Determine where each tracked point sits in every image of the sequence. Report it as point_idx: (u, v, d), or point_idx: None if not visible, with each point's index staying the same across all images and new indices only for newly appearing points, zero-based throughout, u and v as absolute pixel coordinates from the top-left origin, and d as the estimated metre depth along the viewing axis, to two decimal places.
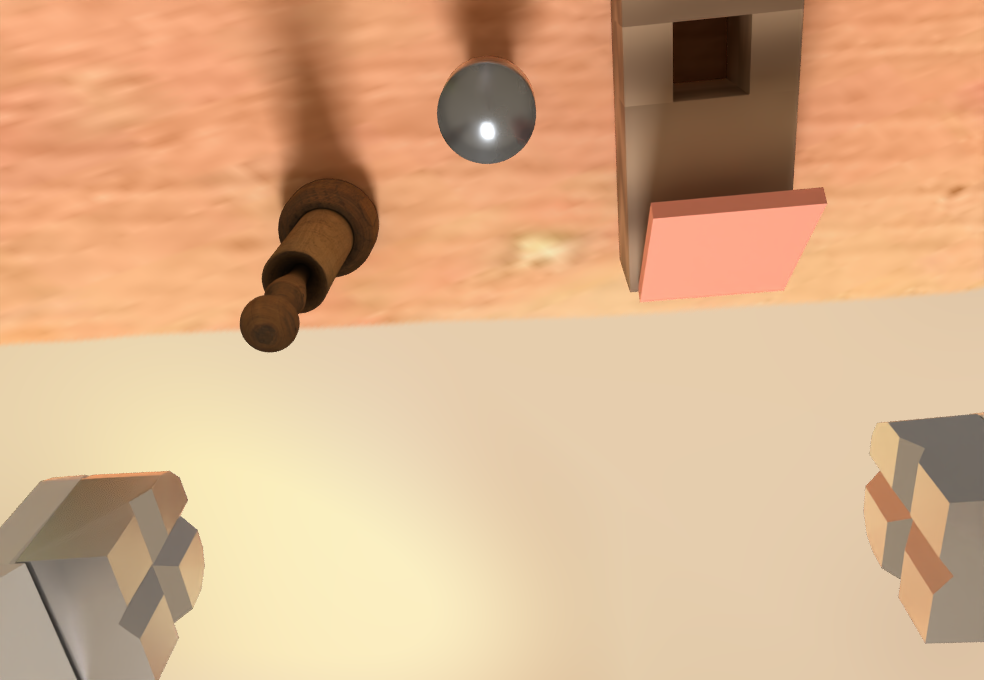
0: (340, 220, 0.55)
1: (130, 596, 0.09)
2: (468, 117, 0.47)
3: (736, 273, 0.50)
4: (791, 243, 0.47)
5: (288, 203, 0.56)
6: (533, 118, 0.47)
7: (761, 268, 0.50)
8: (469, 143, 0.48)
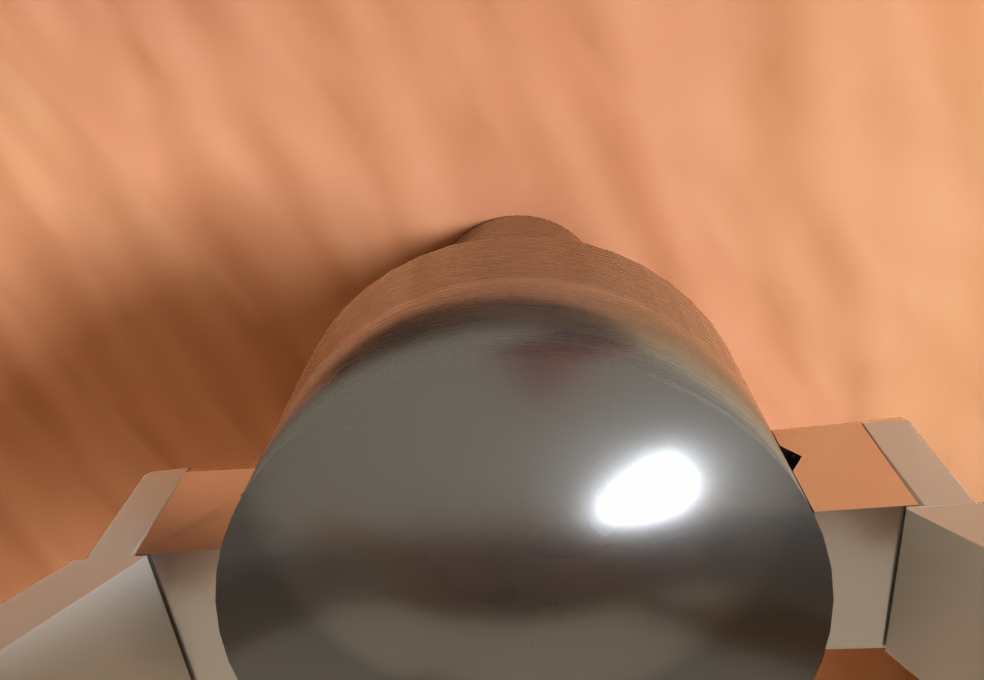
0: None
1: None
2: None
3: None
4: None
5: None
6: (438, 380, 0.07)
7: None
8: (720, 667, 0.08)
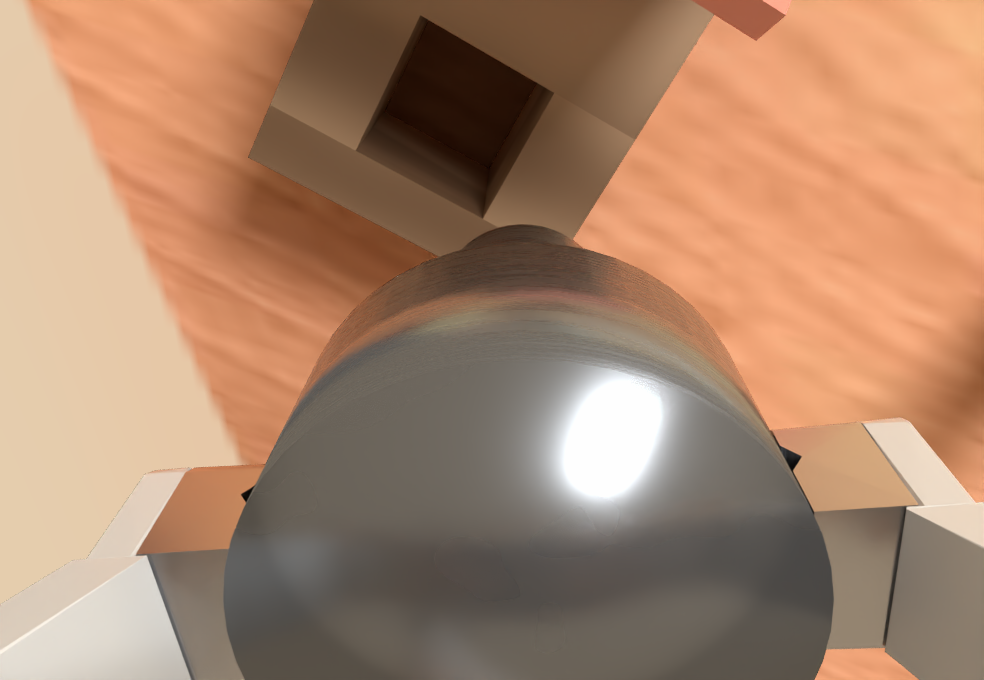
0: None
1: None
2: None
3: None
4: None
5: None
6: (443, 382, 0.07)
7: None
8: (721, 667, 0.08)
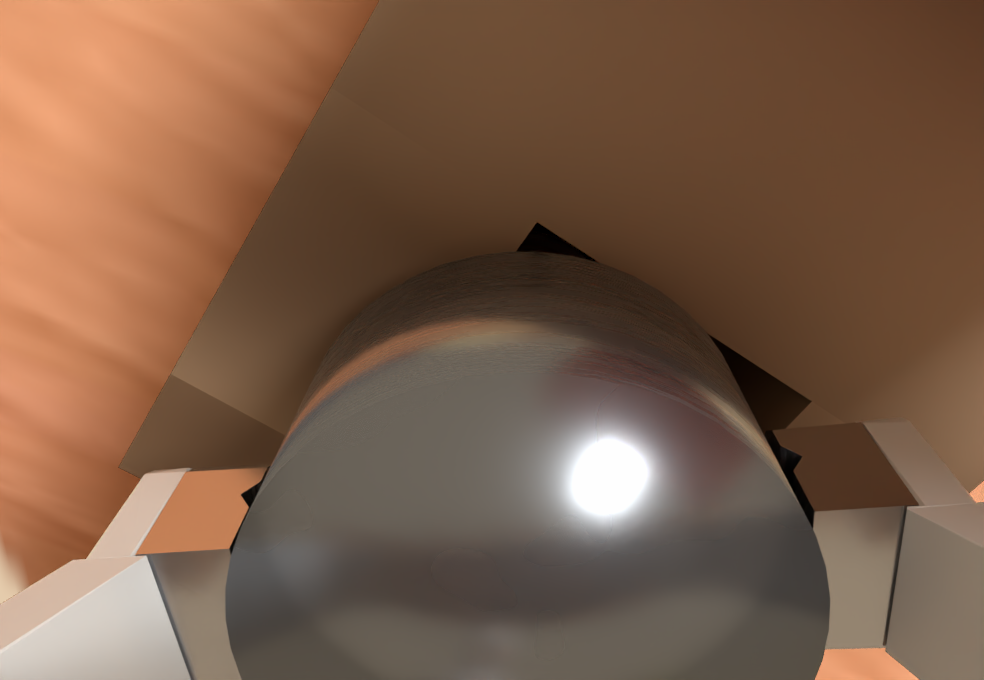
0: None
1: None
2: None
3: None
4: None
5: None
6: (430, 397, 0.07)
7: None
8: (722, 668, 0.08)
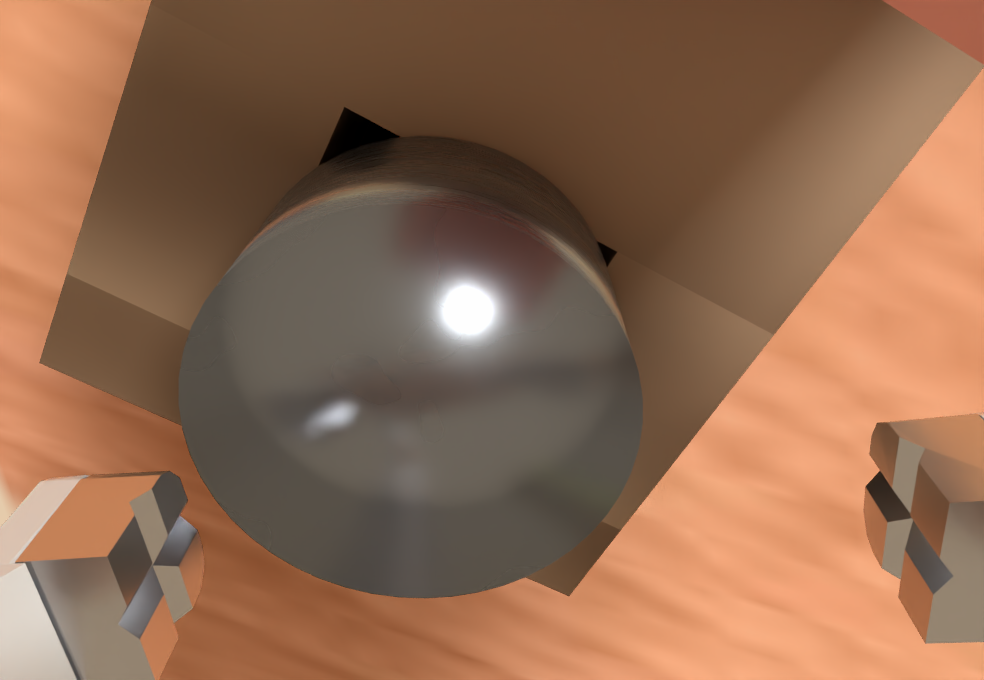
0: None
1: (130, 596, 0.09)
2: (460, 485, 0.11)
3: None
4: None
5: None
6: (309, 232, 0.09)
7: None
8: (567, 439, 0.10)
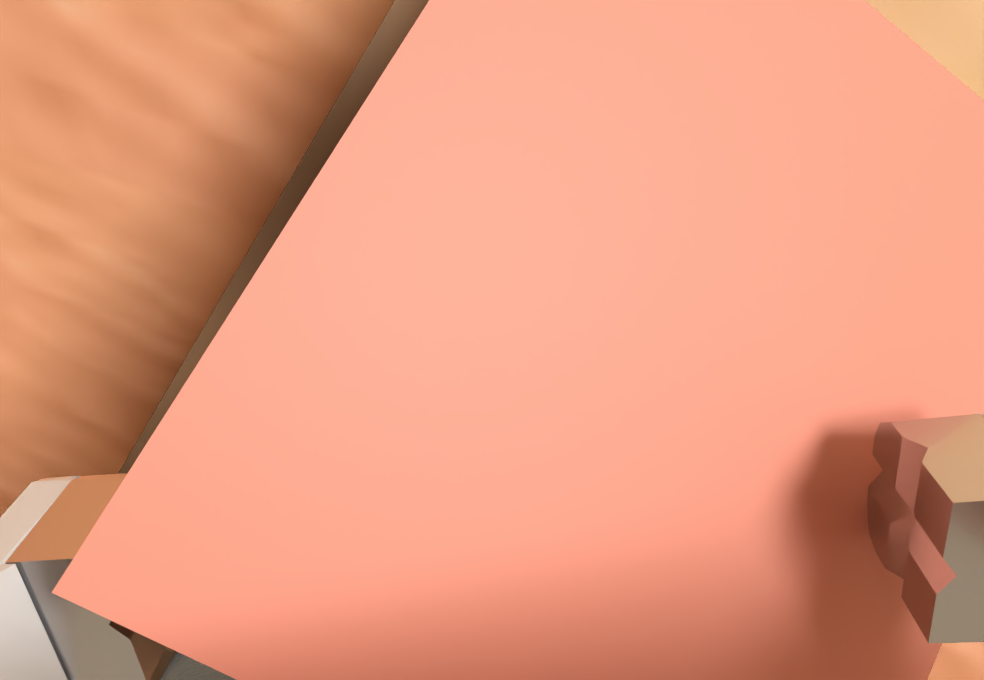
0: None
1: None
2: None
3: (709, 153, 0.09)
4: (374, 263, 0.08)
5: None
6: None
7: (593, 105, 0.09)
8: None
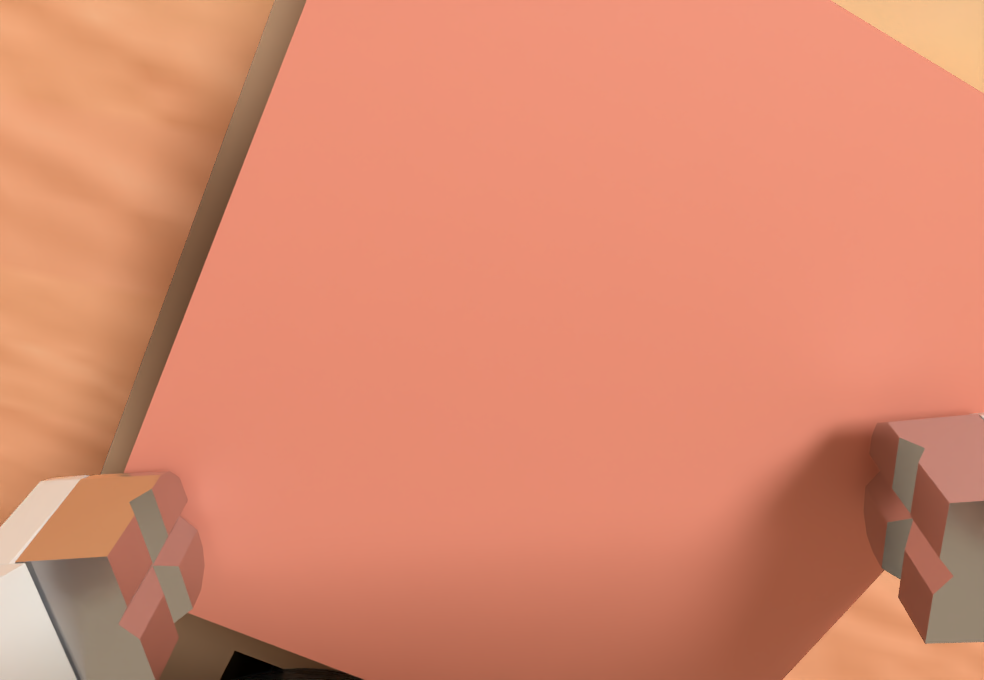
0: None
1: (130, 596, 0.09)
2: None
3: (592, 227, 0.09)
4: (256, 361, 0.09)
5: None
6: None
7: (452, 195, 0.09)
8: None
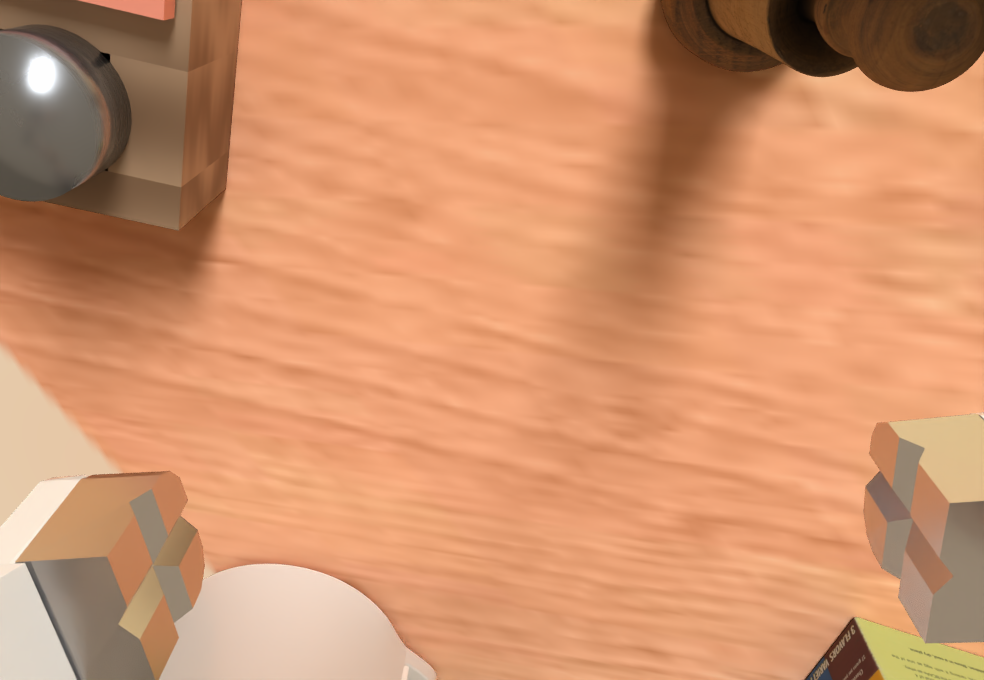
0: (715, 13, 0.31)
1: (130, 596, 0.09)
2: (39, 142, 0.28)
3: None
4: None
5: None
6: None
7: None
8: (64, 111, 0.28)
